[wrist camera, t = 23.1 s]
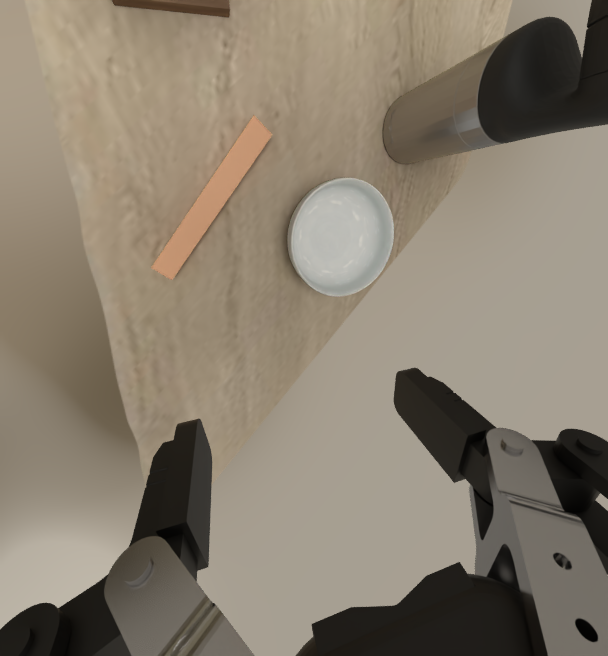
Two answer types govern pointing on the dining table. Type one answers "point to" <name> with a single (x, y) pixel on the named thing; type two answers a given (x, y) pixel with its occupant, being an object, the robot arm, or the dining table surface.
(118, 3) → the walnut stand
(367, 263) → the cereal bowl
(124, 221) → the dining table surface
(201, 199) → the orange rod
